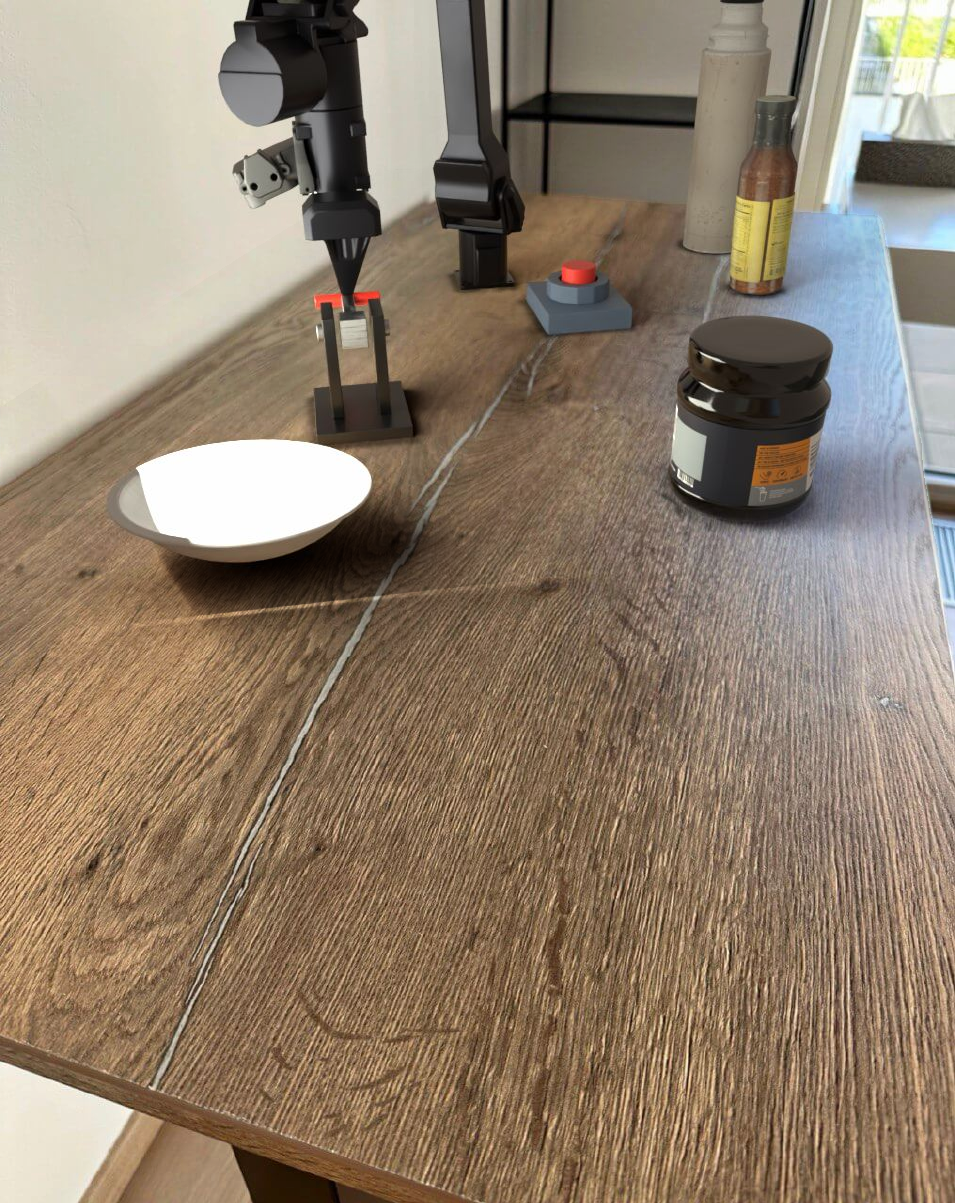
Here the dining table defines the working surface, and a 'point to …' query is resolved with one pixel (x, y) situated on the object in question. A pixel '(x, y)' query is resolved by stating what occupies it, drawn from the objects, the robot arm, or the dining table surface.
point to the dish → (240, 498)
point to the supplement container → (750, 417)
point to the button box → (578, 305)
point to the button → (578, 272)
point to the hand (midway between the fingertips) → (347, 293)
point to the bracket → (359, 391)
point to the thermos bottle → (725, 122)
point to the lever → (350, 317)
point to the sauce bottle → (765, 201)
